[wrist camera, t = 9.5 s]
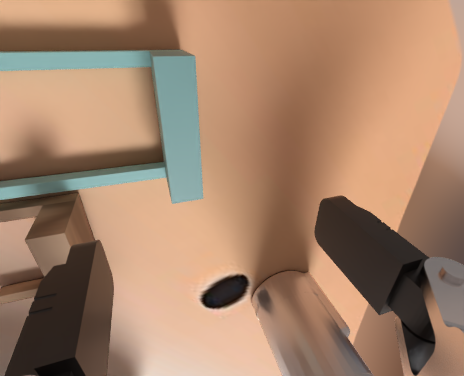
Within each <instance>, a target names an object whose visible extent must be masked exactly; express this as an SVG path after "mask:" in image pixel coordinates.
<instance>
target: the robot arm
mask: <svg viewBox="0 0 464 376" xmlns="http://www.w3.org/2000/svg"><path fill="white" fill-rule="evenodd" d="M315 237H316V240H317V242H318V244H319V245H320V247H321V248H322V249H323V250H324V251H325V252H326V254H327V255H328V256H329V257H330V258H331V259H332V261H333V262H334V263H335V264H336V265H337V266H338V268H339V269H340V270H341V271H342V272H343V273H344V275H345V276H346V277H347V278H348V279H349V280H350V282H351V283H352V284H353V285H354V286H355V287H356V289H357V290H358V291H359V292H360V293H361V294H362V296H363V297H364V298H365V299H366V300H367V301H368V303H369V304H370V305H371V306H372V307H373V308H374V309H375V311H376V312H377V313H378V314H379V315H381V314H384V313H387V312H389V311H394V313H395V314H396V315H397V316H396V318H395V328H396V333H397V339H398V344H399V350H400V356H401V362H402V367H403V372H404V376H464V265H462V264H460V263H458V262H456V261H453V260H450V259H447V258H441V257H432V258H429V257H427V256H426V255H425V254H424V253H422V252H421V251H420V250H418V249H417V248H416V247H414V246H413V245H412V244H411V243H409V242H408V241H407V240H405V239H404V238H403V237H401V236H400V235H399V234H398V233H397V232H395V231H394V230H391V229H390V227H389V226H387V225H386V224H385V223H384V222H383V223H382V222H381V220H380V219H378V218H377V217H376V216H375V215H373V214H372V213H371V212H369V211H367V210H365V209H362V208H360V207H358V206H356V205H355V204H353V203H352V202H351V201H350V200H348V199H347V198H346V197H344V196H336V197H330V198H325V199H323V200H322V201H321V203H320V206H319V211H318V216H317V221H316V225H315ZM113 295H114V285H113V277H112V273H111V270H110V267H109V264H108V261H107V258H106V255H105V252H104V249H103V246H102V243H101V242H100V240H96V241H91V242H86V243H80V244H75V245H72V246H71V248H70V251H69V254H68V257H67V261H66V264H61V265H56V266H53V268H52V269H51V270H50V271H49V272H48V273H47V275H46V276H45V277H44V278H43V279H42V280H41V282H40V284H39V287H38V289H37V292H36V295H35V297H34V301H33V303H32V305H31V308H30V310H29V316H27V318H26V321H25V323H24V326H23V329H22V331H21V334H20V337H19V339H18V342H17V344H16V347H15V350H14V352H13V355H12V357H11V360H10V363H9V365H8V368H7V371H6V373H5V376H107V365H108V353H109V341H110V330H111V318H112V306H113ZM252 305H253V307H254V310H255V312H256V315H257V318H258V320H259V322H260V324H261V326H262V329H263V331H264V334H265V336H266V338H267V341H268V343H269V345H270V348H271V350H272V353H273V355H274V357H275V360H276V362H277V364H278V367H279V369H280V371H281V374H282V376H373V374H372V373H371V371H370V370H369V368H368V367H367V365H366V364H365V363H364V361H363V360H362V358H361V357H360V355H359V354H358V352H357V351H356V349H355V348H354V346H353V345H352V344H351V342H350V341H349V339H348V336H349V334H350V329H349V327H348V326H347V324H346V323H345V322H344V320H343V319H342V317H341V316H340V315H339V313H338V312H337V310H336V309H335V308H334V306H333V305H332V303H331V302H330V301H329V299H328V298H327V296H326V295H325V294H324V292H323V291H322V289H321V288H320V287H319V285H318V284H317V282H316V281H315V280H314V278H313V277H312V275H311V274H310V273H309V272H306V273H301V272H298V271H285V272H281V273H278V274H276V275H273V276H272V277H270V278H268V279H267V280H266V281H264V282H263V283H262V284H261V285H260V286H259V287H258V288H257V290H256V291H255V293H254V295H253V298H252Z"/></svg>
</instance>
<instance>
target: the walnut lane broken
mask: <svg viewBox="0 0 464 376" xmlns="http://www.w3.org/2000/svg"><path fill="white" fill-rule="evenodd" d="M32 217H37V218H36V219H35V221H34V223H33V225H32V227H31V229H30V231H29V233H28V235H27V237H26V239H25V241H26V243H27V245H28V247H29V249H30V251H31V253H32V255H33V256H34V258H35V260H36V262H37V264H38V266H39V268H40V270H41V272H42V274H43V275H44V277H45V276H46V275H47V273H48V272H49V271H50V270H51V269H52V268H53V266H56V265H61V264H66V261H67V257H68V254H69V251H70V248H71V246H72V245H75V244H80V243H86V242H91V241H95V240H94V237H93V234H92V231H91V228H90V226H89V223H88V220H87V217H86V214H85V211H84V208H83V205H82V202H81V200H80V197H79V194H78V193H75V194H68V195H61V196H54V197H46V198H39V199H32V200H25V201H18V202H10V203H3V204H0V222H6V221H12V220H19V219H25V218H32ZM42 279H43V278H42ZM42 279H37V280H32V281H28V282H23V283H18V284H13V285H9V286H4V287H2V288H1V289H0V303H1V304H4V303H9V302H13V301H18V300H22V299H27V298H31V297H35V295H36V292H37V289H38V287H39V284H40V282H41V280H42Z"/></svg>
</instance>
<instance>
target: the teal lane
mask: <svg viewBox="0 0 464 376" xmlns="http://www.w3.org/2000/svg"><path fill="white" fill-rule="evenodd" d="M130 67H151V71H152V79H153V86H154V93H155V101H156V108H157V115H158V122H159V130H160V137H161V144H162V152H163V159H164V162H157V163H149V164H141V165H132V166H124V167H116V168H107V169H99V170H90V171H82V172H74V173H65V174H57V175H48V176H40V177H32V178H23V179H15V180H7V181H0V200H4V199H11V198H18V197H26V196H33V195H41V194H48V193H55V192H63V191H70V190H78V189H85V188H92V187H100V186H107V185H115V184H122V183H129V182H137V181H144V180H152V179H159V178H166V177H167V182H168V187H169V192H170V196H171V201H172V204H174V203H180V202H186V201H192V200H198V199H203V186H202V168H201V150H200V133H199V115H198V97H197V79H196V62H195V56H194V55H192V54H190V53H188V52H185V51H183V50H98V51H0V71H15V70H53V69H92V68H130Z"/></svg>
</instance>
